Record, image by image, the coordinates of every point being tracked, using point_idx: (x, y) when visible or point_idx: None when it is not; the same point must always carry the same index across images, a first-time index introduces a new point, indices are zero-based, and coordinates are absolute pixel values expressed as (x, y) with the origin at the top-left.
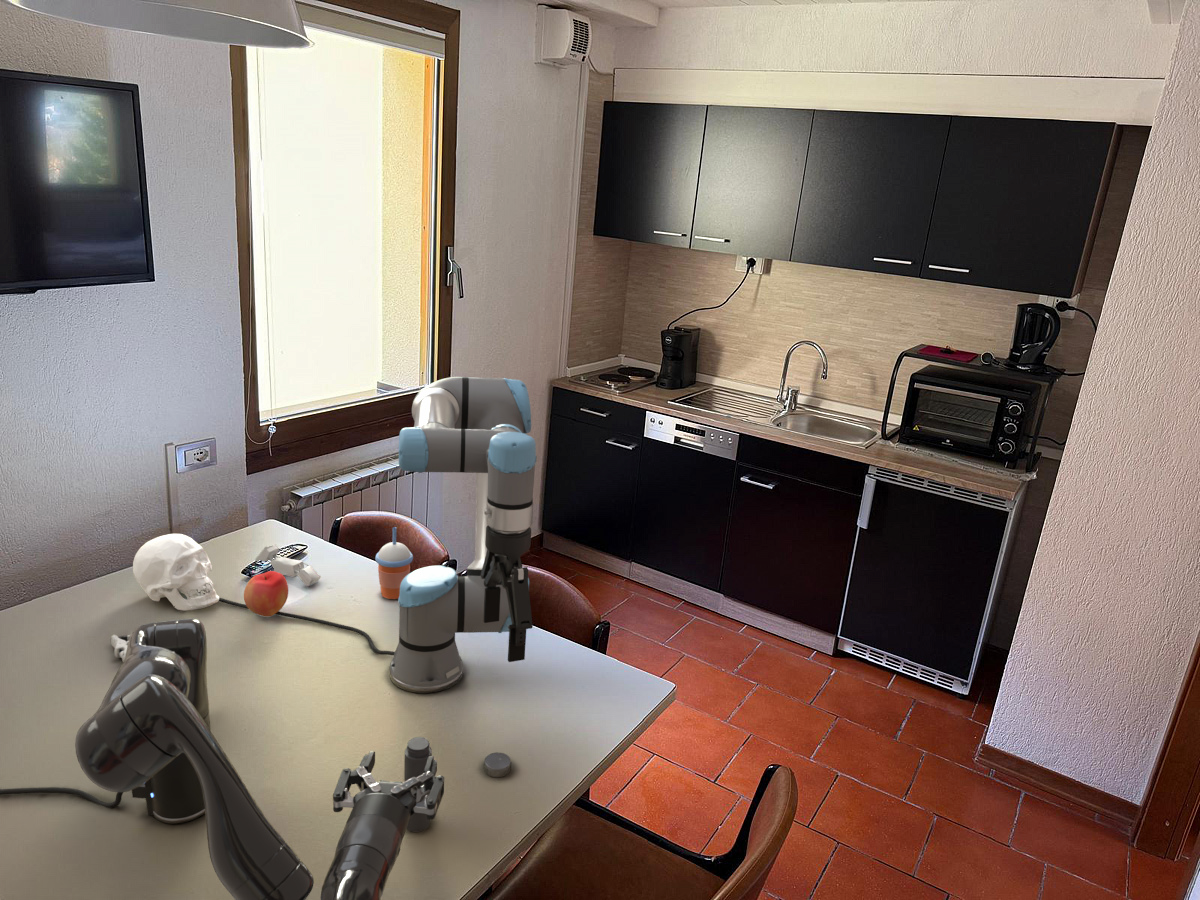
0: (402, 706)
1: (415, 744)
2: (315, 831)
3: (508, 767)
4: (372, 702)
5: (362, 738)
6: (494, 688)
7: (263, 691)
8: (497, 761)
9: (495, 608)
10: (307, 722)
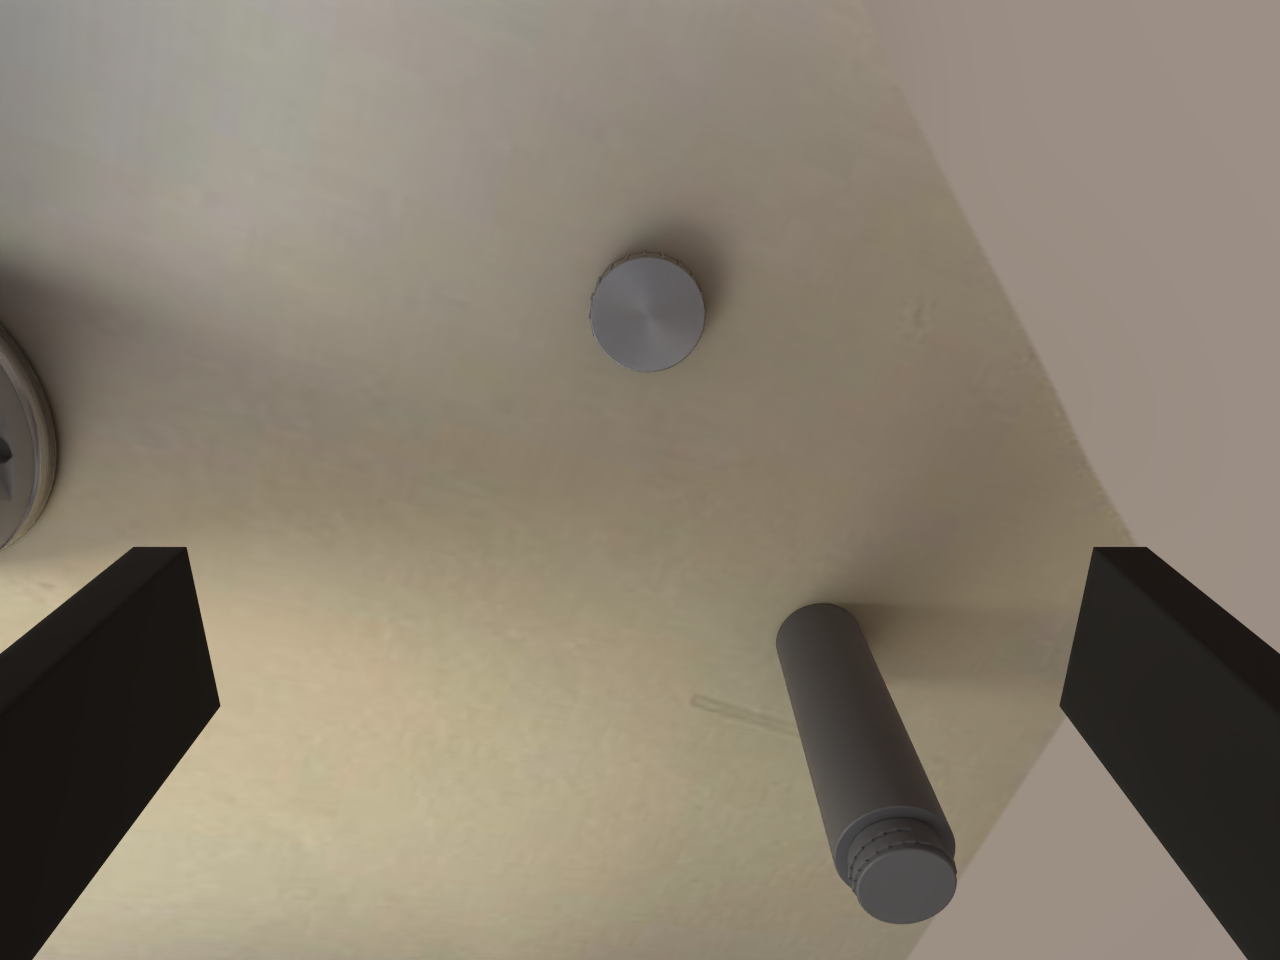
0: None
1: (911, 900)
2: (737, 876)
3: (693, 279)
4: None
5: (332, 714)
6: (31, 123)
7: None
8: (652, 318)
9: (89, 707)
10: (207, 847)
